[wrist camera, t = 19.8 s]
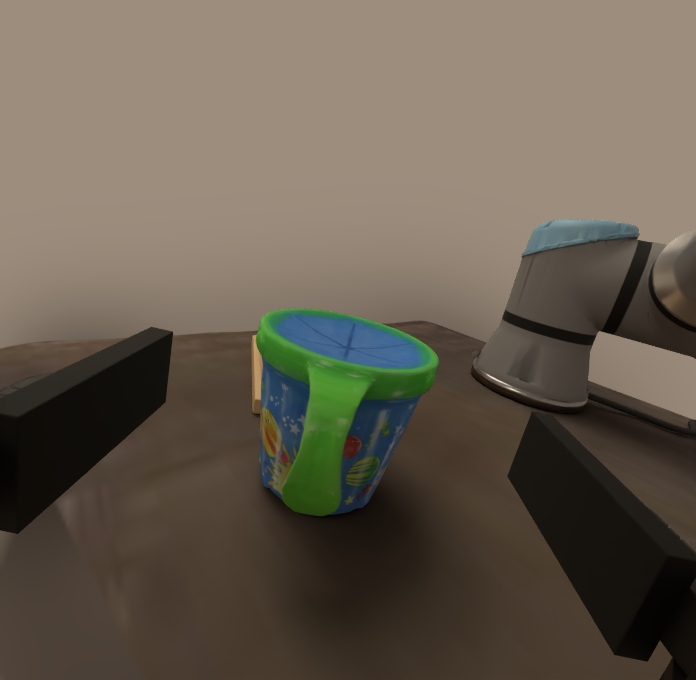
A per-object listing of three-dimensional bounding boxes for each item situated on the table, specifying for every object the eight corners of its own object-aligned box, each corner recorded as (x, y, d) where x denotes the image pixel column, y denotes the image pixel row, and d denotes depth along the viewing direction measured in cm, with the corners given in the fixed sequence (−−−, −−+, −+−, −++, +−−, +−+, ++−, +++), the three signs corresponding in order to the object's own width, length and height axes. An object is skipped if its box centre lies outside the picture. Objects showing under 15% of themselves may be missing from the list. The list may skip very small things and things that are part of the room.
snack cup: (383, 614, 18) (448, 412, 15) (170, 539, 19) (196, 341, 17) (402, 446, 33) (436, 329, 30) (281, 410, 34) (304, 295, 32)
